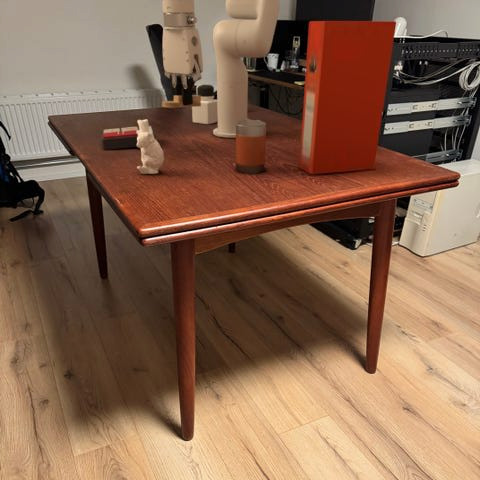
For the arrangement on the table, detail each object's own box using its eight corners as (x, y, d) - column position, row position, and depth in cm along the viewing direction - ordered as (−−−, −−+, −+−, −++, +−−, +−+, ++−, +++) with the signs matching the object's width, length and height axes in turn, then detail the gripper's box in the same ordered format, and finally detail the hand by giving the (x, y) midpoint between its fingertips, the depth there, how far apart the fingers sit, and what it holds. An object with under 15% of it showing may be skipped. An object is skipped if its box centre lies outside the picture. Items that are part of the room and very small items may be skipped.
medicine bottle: (219, 121, 172) (219, 84, 166) (208, 124, 167) (207, 87, 160) (203, 119, 175) (202, 83, 169) (192, 122, 170) (190, 85, 164)
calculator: (102, 128, 143) (152, 124, 145) (104, 143, 145) (154, 138, 148) (101, 136, 134) (154, 131, 136) (104, 152, 136) (156, 147, 139)
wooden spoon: (192, 105, 131) (192, 94, 129) (204, 106, 128) (204, 96, 127) (158, 106, 122) (158, 95, 120) (170, 108, 119) (170, 96, 118)
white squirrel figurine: (132, 169, 120) (127, 118, 113) (158, 166, 122) (154, 116, 116) (141, 178, 113) (135, 125, 107) (168, 175, 116) (164, 123, 109)
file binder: (298, 166, 123) (309, 20, 106) (357, 161, 128) (377, 20, 110) (312, 175, 117) (325, 21, 99) (373, 169, 121) (397, 21, 104)
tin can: (256, 164, 124) (257, 118, 118) (269, 171, 119) (271, 124, 113) (230, 168, 122) (230, 121, 115) (243, 175, 116) (244, 127, 110)
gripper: (214, 22, 113) (216, 105, 124) (167, 20, 122) (173, 99, 132) (192, 23, 108) (196, 110, 119) (145, 21, 117) (153, 102, 127)
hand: (184, 103), depth 125 cm, fingers closed on wooden spoon
